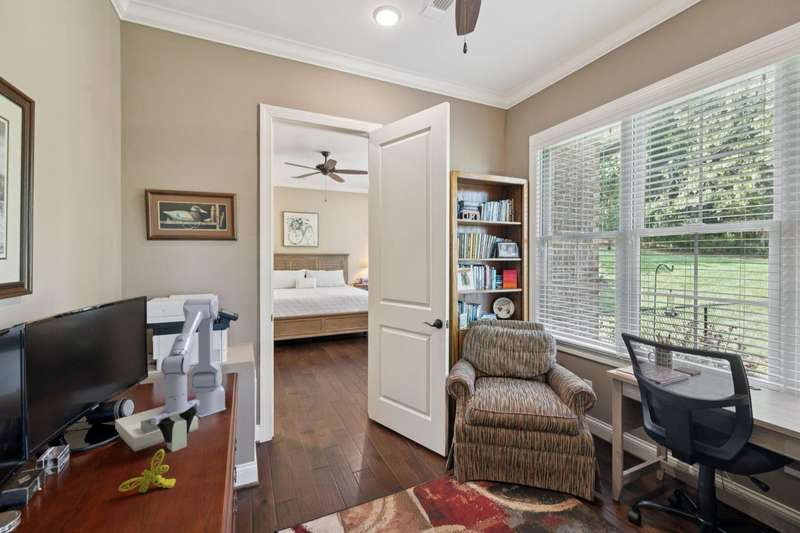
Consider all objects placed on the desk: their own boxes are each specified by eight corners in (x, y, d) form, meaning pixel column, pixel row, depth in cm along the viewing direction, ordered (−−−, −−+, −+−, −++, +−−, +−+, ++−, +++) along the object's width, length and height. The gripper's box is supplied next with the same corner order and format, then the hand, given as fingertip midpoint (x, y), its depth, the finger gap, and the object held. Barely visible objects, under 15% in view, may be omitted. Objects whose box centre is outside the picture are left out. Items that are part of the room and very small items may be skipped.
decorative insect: (147, 512, 88) (115, 490, 86) (150, 504, 91) (120, 482, 88) (189, 472, 91) (159, 449, 89) (191, 465, 94) (163, 443, 92)
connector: (181, 442, 112) (181, 417, 112) (186, 446, 110) (186, 420, 110) (167, 447, 109) (166, 421, 109) (172, 451, 107) (172, 425, 107)
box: (175, 413, 133) (174, 402, 133) (198, 429, 121) (198, 417, 121) (115, 431, 119) (115, 419, 119) (134, 451, 107) (134, 438, 107)
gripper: (188, 384, 117) (188, 425, 118) (143, 401, 104) (144, 446, 104) (204, 387, 115) (204, 428, 115) (160, 404, 101) (161, 451, 102)
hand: (176, 437), depth 110 cm, fingers closed on connector, 5 cm apart
